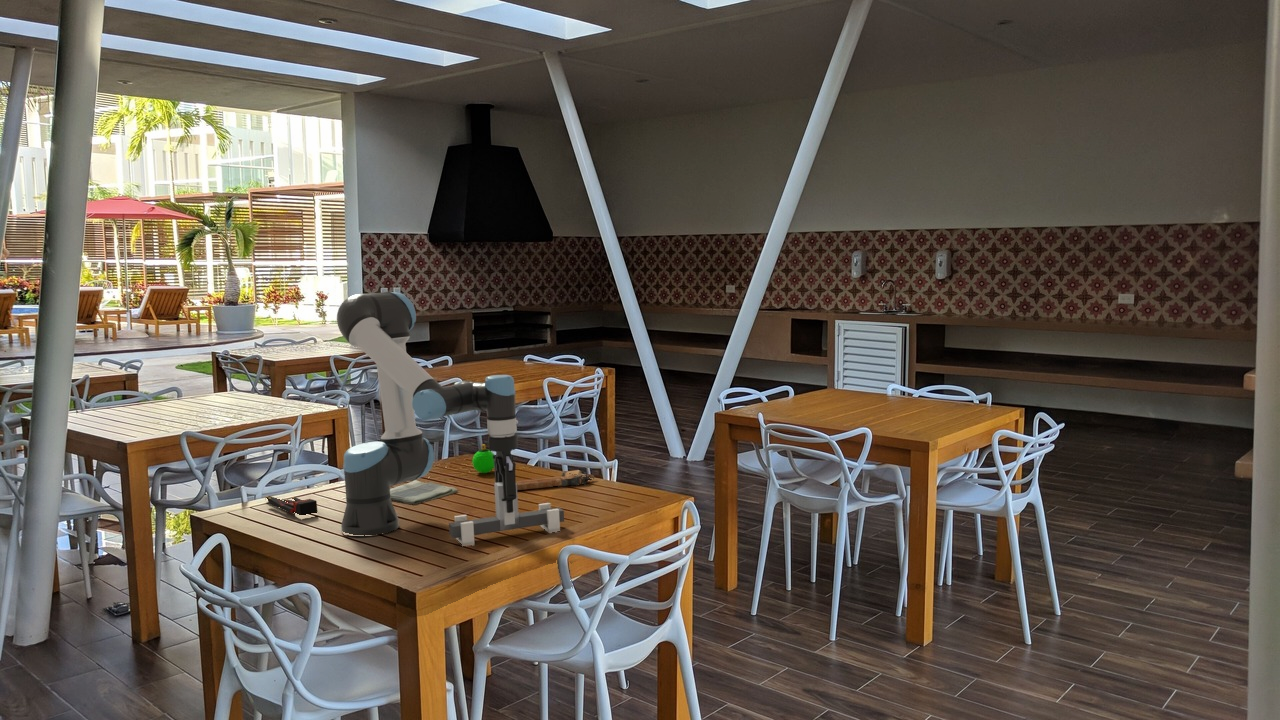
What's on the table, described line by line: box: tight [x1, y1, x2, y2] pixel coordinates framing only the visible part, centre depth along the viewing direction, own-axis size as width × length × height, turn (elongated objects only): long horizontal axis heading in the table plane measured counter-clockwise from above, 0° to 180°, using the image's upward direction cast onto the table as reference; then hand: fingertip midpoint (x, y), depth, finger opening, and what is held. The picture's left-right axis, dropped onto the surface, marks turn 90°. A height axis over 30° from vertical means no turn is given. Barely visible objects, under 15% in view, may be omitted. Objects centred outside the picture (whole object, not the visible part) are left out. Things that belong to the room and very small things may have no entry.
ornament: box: [472, 443, 495, 474], centre depth 321 cm, size 8×8×10 cm
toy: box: [265, 495, 319, 515], centre depth 282 cm, size 8×5×30 cm
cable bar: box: [448, 482, 565, 539], centre depth 245 cm, size 30×4×12 cm, turn 113°
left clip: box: [453, 514, 475, 547], centre depth 241 cm, size 3×8×6 cm, turn 23°
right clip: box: [538, 502, 561, 534], centre depth 250 cm, size 3×8×6 cm, turn 23°
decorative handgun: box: [516, 469, 595, 491], centre depth 303 cm, size 3×28×15 cm
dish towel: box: [390, 479, 459, 506], centre depth 294 cm, size 19×18×3 cm
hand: (507, 521), depth 245 cm, fingers closed on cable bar, 4 cm apart
